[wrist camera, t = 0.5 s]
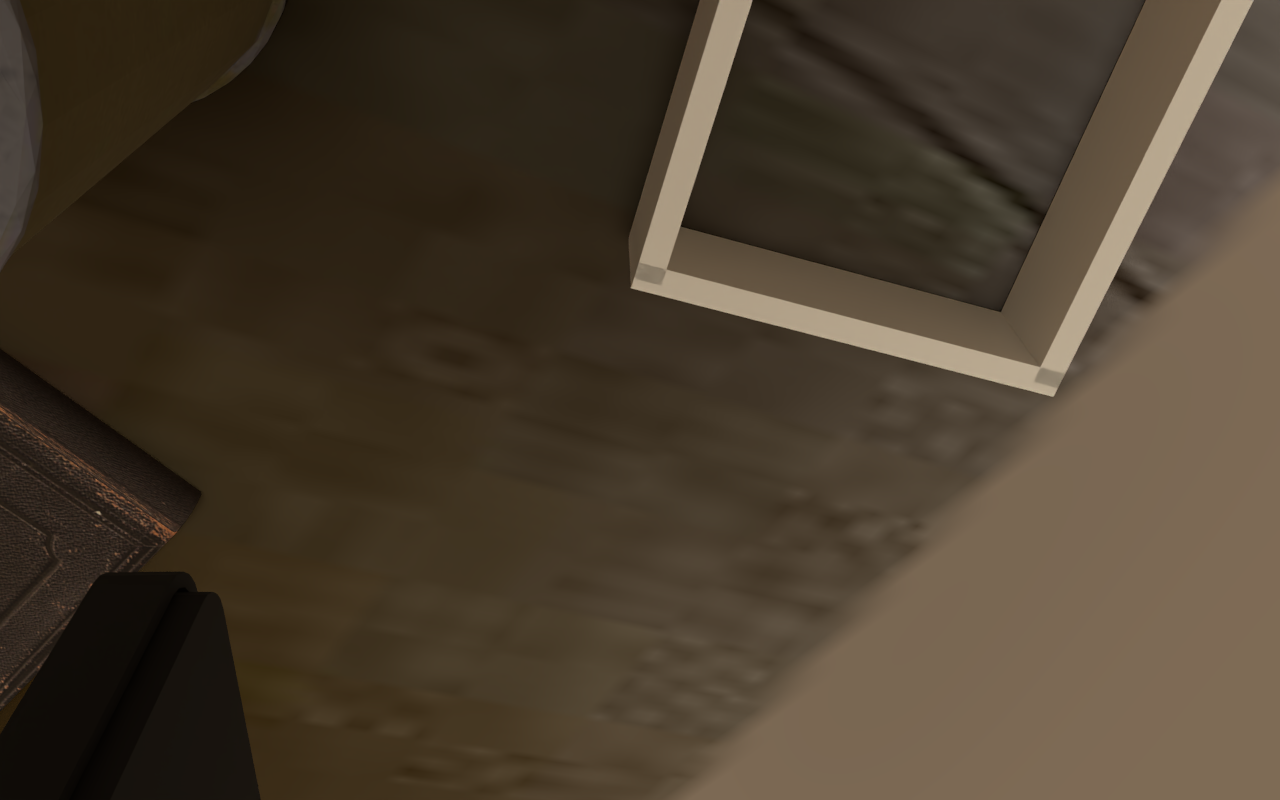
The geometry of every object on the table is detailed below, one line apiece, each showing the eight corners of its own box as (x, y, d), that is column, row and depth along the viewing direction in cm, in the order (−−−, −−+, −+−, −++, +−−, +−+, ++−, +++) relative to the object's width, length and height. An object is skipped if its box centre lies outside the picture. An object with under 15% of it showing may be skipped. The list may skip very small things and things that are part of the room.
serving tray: (776, -283, 31) (802, -289, 27) (1241, -125, 33) (1330, -108, 29) (622, 236, 37) (624, 294, 33) (1018, 341, 39) (1066, 407, 35)
